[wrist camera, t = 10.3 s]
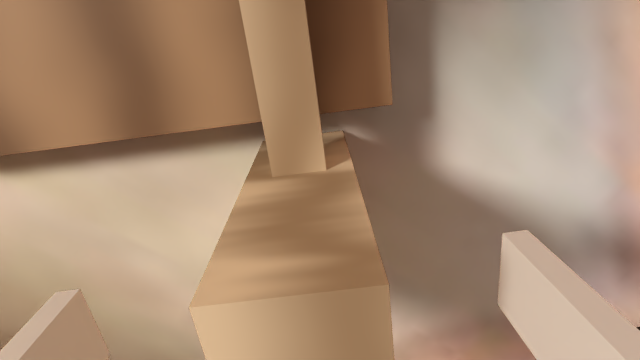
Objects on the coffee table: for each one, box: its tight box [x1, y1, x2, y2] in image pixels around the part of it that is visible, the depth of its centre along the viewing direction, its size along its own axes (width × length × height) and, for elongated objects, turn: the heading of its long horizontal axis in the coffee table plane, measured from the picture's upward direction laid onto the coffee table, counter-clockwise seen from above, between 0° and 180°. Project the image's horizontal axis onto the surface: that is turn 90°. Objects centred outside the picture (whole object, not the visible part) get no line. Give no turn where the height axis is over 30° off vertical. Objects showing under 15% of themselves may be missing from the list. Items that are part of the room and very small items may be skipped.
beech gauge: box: [189, 0, 394, 360], centre depth 12 cm, size 4×16×12 cm, turn 7°
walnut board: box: [0, 0, 392, 156], centre depth 15 cm, size 22×9×3 cm, turn 97°
